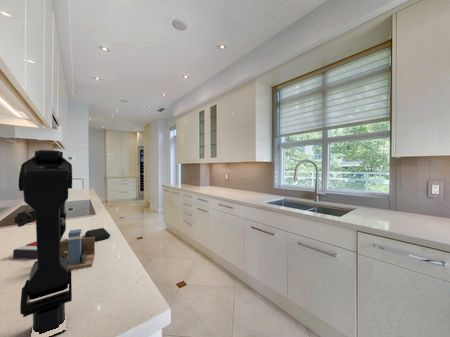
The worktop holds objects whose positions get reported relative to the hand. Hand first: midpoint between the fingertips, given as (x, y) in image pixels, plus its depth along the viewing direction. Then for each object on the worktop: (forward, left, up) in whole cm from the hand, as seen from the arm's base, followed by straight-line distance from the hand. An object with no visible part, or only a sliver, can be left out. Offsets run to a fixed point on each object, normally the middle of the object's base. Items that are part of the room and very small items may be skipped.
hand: (53, 247), depth 62 cm
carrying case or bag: (+42, -16, -14) cm, 47 cm away
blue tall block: (+14, -6, -12) cm, 19 cm away
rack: (+15, -5, -13) cm, 20 cm away
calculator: (+37, +5, -14) cm, 40 cm away
